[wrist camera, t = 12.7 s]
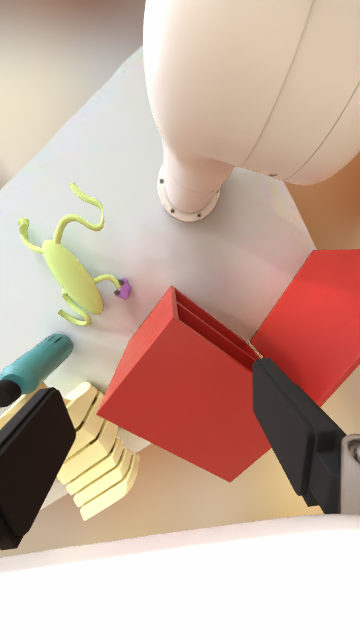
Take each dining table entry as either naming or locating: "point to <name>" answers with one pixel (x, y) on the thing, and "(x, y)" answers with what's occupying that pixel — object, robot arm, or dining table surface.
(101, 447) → the slatted curved stool
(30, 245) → the figurine
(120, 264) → the dining table surface
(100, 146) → the dining table surface
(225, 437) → the box
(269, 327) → the fridge door
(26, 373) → the beverage bottle
